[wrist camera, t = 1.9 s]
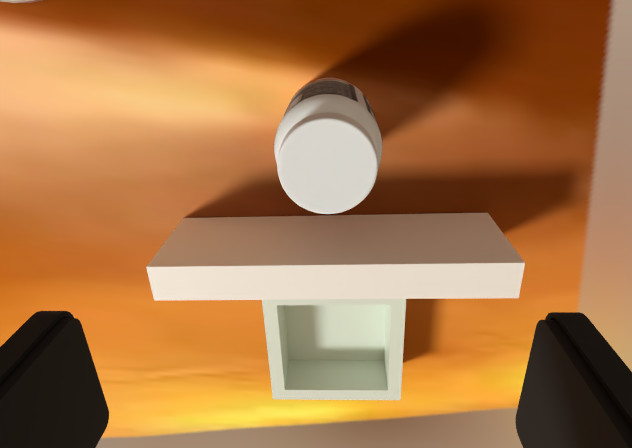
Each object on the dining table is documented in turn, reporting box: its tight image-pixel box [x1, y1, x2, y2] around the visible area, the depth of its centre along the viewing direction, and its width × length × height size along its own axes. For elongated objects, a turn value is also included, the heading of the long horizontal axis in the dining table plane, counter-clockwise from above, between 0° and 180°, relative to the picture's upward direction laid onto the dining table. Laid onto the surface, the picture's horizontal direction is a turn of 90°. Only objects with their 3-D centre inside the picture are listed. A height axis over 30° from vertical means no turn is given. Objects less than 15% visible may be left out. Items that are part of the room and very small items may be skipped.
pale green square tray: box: [262, 299, 406, 400], centre depth 34 cm, size 10×10×4 cm
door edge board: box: [146, 213, 525, 300], centre depth 30 cm, size 3×22×7 cm, turn 92°
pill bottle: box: [274, 78, 382, 214], centre depth 25 cm, size 6×6×10 cm
